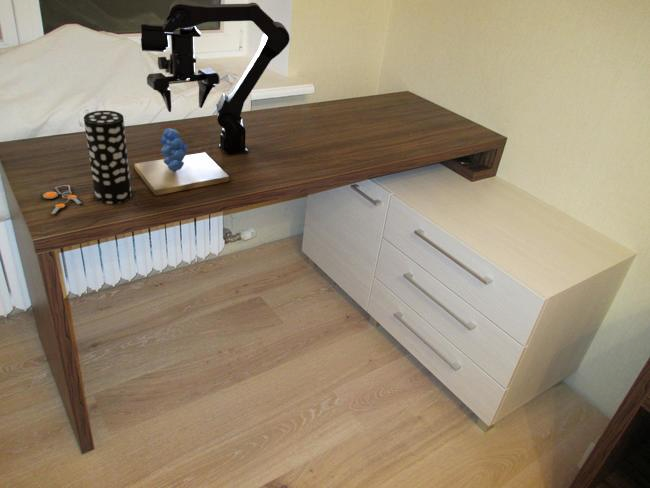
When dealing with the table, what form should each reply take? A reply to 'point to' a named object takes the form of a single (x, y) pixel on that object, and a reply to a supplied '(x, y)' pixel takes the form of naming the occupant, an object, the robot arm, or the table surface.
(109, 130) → the spotted tube
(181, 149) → the grapes
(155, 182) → the board
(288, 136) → the table surface
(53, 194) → the key chain
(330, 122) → the table surface
